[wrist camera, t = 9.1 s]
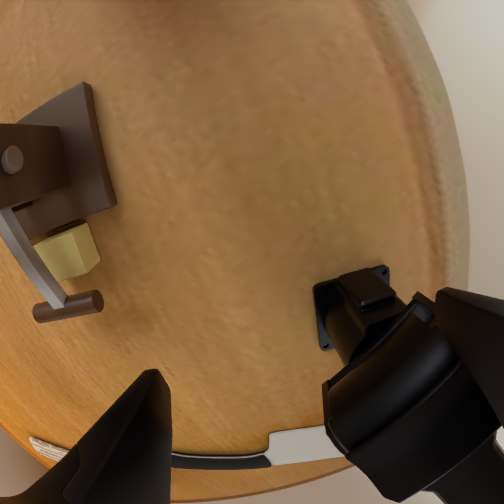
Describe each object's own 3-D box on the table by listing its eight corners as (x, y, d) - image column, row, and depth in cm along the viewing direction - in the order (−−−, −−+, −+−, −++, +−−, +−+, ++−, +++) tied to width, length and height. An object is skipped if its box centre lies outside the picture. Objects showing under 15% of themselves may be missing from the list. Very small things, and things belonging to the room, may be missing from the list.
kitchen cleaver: (409, 409, 28) (385, 452, 30) (403, 402, 29) (381, 445, 32) (158, 432, 24) (170, 474, 26) (160, 422, 26) (171, 465, 28)
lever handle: (107, 294, 17) (100, 322, 15) (48, 307, 17) (39, 332, 15) (18, 127, 9) (-8, 141, 7) (-36, 172, 9) (-58, 190, 7)
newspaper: (155, 466, 29) (154, 476, 27) (164, 482, 31) (164, 491, 30) (31, 433, 27) (27, 441, 25) (48, 454, 29) (46, 460, 27)
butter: (101, 260, 18) (87, 273, 16) (60, 272, 18) (44, 286, 16) (87, 221, 17) (71, 231, 15) (46, 237, 17) (29, 248, 15)
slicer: (117, 203, 17) (45, 244, 9) (23, 241, 17) (-45, 286, 9) (90, 84, 14) (13, 54, 6) (-1, 141, 14) (-76, 151, 6)
